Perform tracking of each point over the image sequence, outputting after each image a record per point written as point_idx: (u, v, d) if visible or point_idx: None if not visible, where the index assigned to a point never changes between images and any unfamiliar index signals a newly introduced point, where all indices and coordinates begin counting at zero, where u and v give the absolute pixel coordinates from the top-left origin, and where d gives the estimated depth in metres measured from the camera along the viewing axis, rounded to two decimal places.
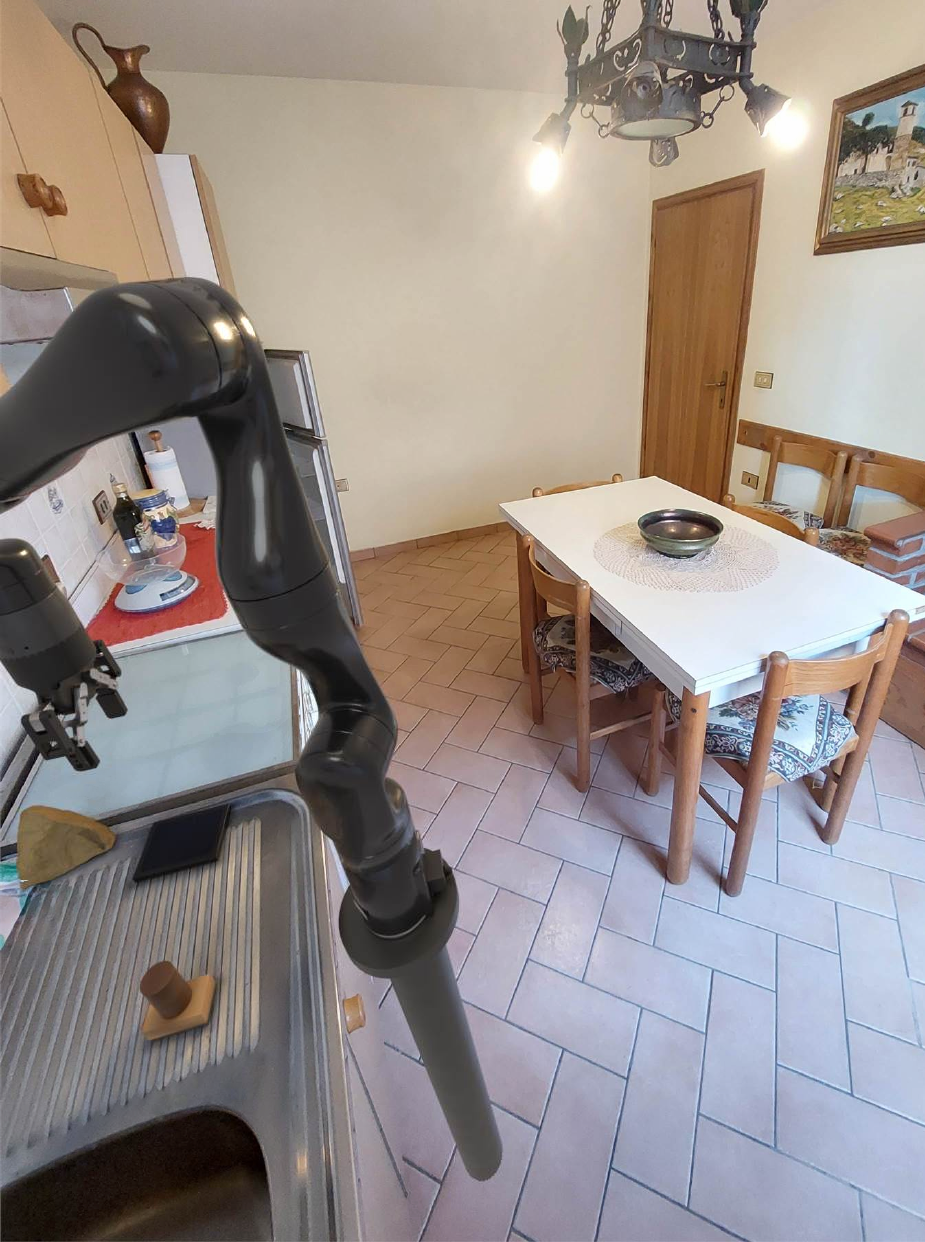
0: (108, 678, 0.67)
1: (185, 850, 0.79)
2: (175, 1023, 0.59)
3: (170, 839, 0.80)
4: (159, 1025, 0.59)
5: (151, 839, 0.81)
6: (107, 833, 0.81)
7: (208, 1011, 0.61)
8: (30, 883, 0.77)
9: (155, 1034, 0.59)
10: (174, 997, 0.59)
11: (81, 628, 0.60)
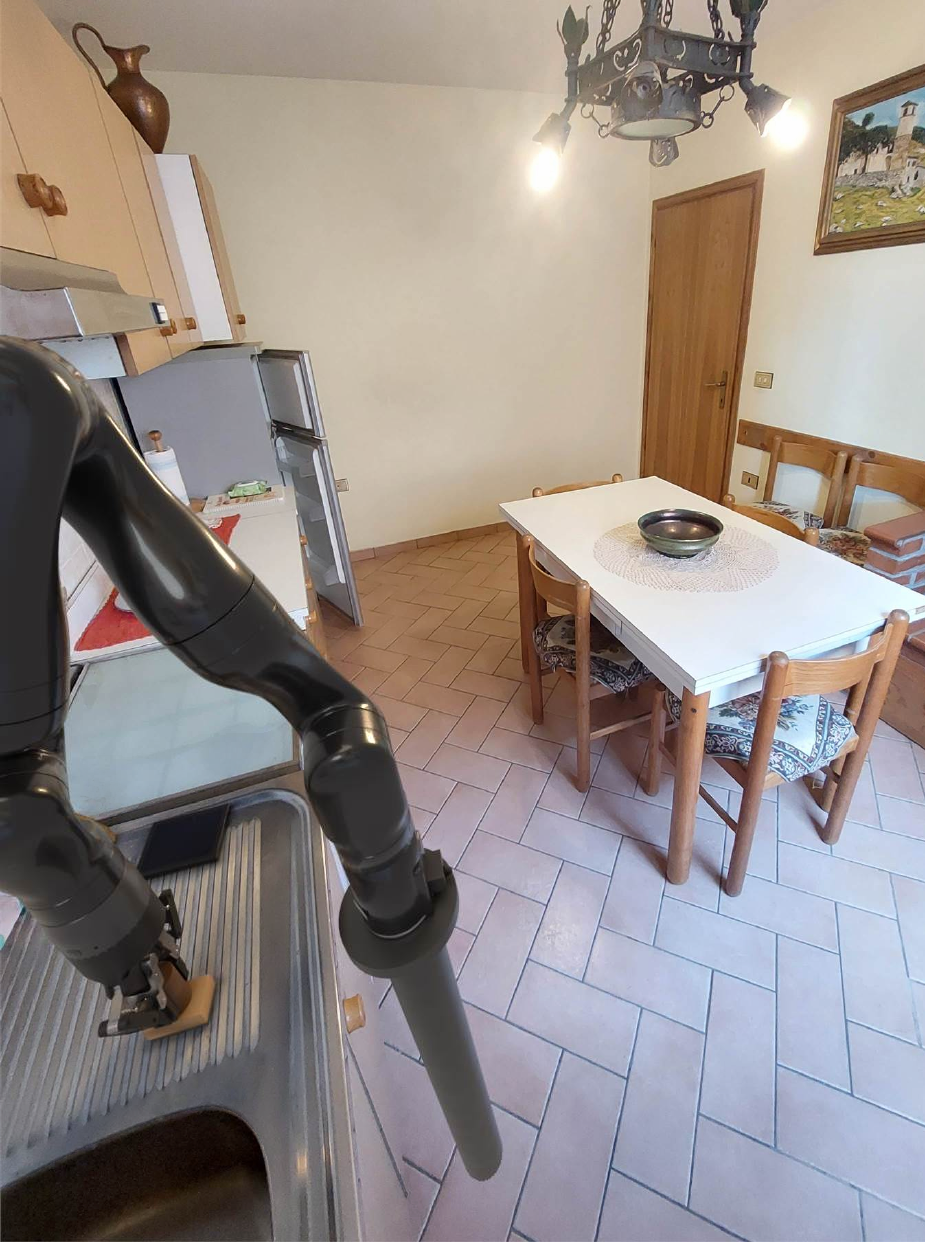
0: (173, 942, 0.59)
1: (185, 850, 0.79)
2: (175, 1023, 0.59)
3: (170, 839, 0.80)
4: None
5: (151, 839, 0.81)
6: None
7: (208, 1011, 0.61)
8: None
9: (155, 1034, 0.59)
10: (174, 997, 0.59)
11: (151, 899, 0.54)
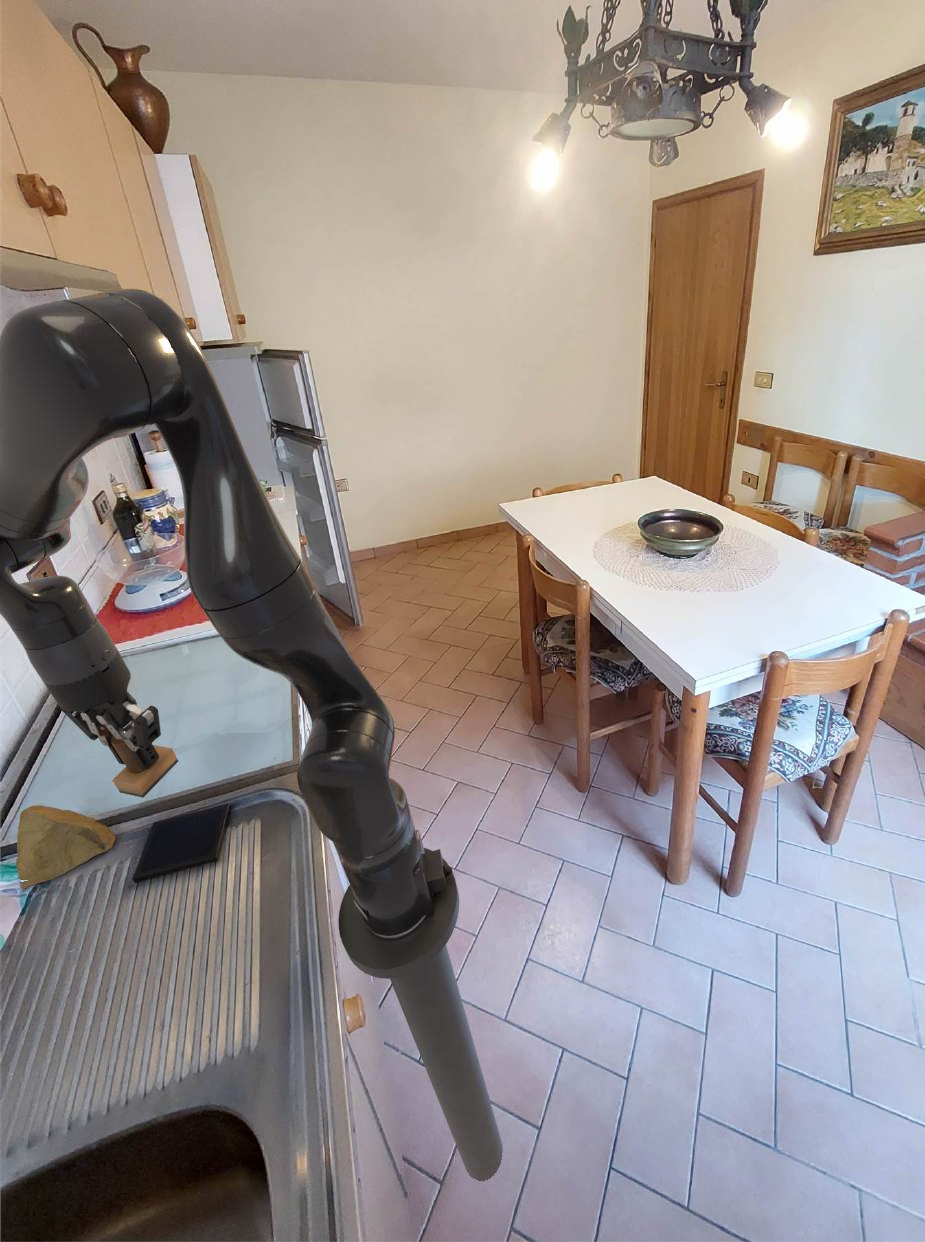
0: (119, 737, 0.68)
1: (185, 850, 0.79)
2: None
3: (170, 839, 0.80)
4: None
5: (151, 839, 0.81)
6: (107, 833, 0.81)
7: (123, 790, 0.72)
8: (30, 883, 0.77)
9: None
10: None
11: (57, 688, 0.62)
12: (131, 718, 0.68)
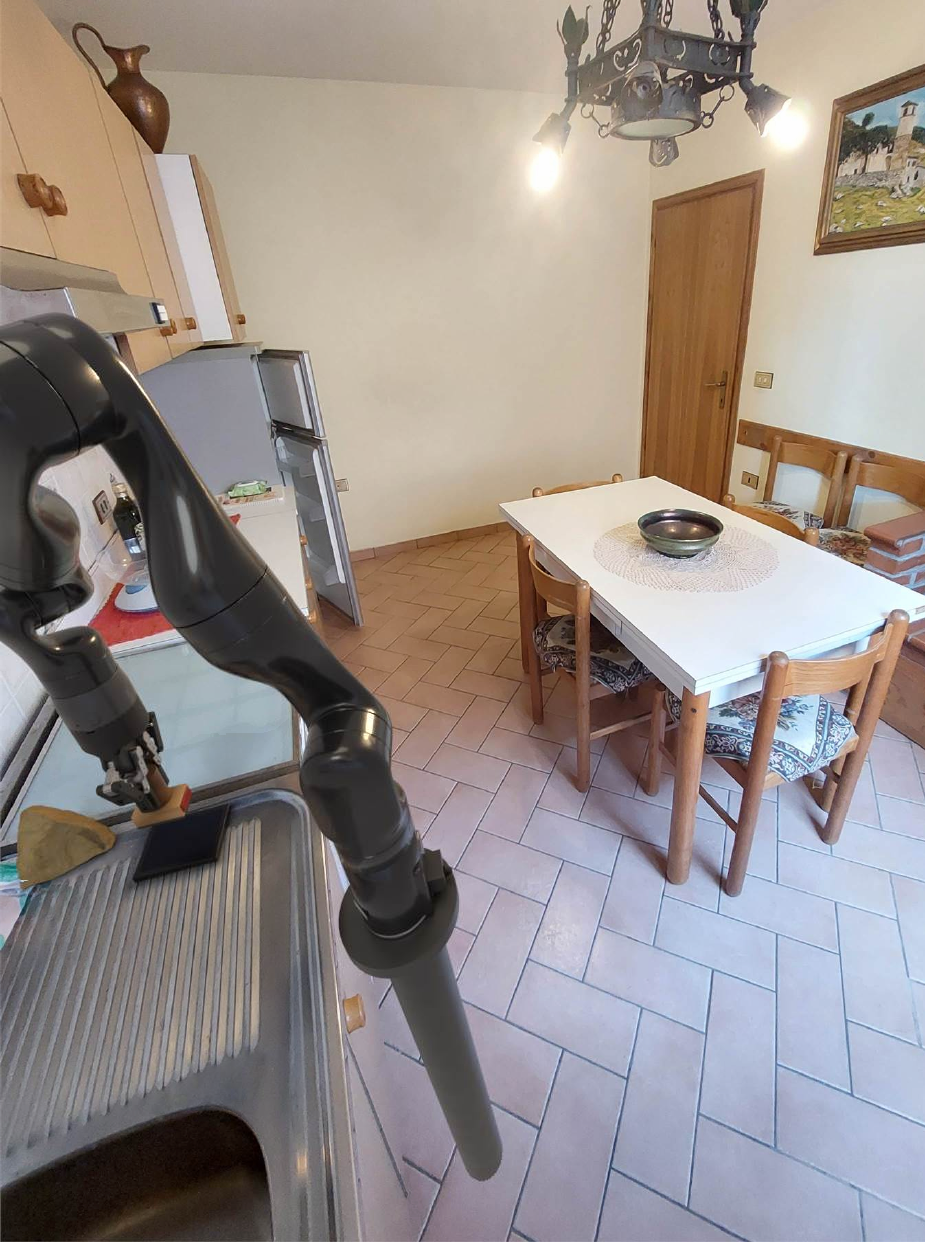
0: None
1: (185, 850, 0.79)
2: None
3: (170, 839, 0.80)
4: (172, 787, 0.78)
5: (151, 839, 0.81)
6: (107, 833, 0.81)
7: None
8: (30, 883, 0.77)
9: None
10: None
11: None
12: (126, 773, 0.69)
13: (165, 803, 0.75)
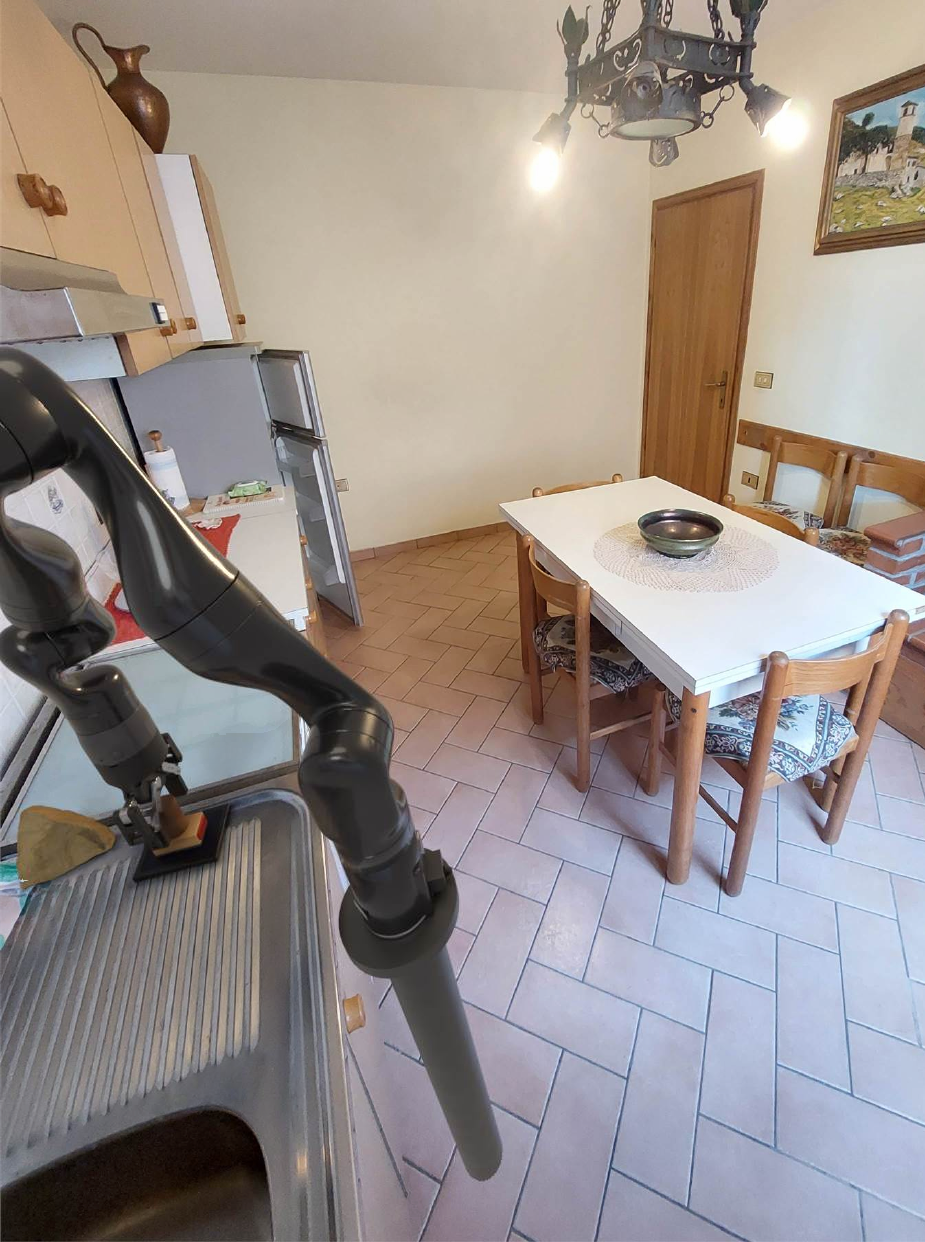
0: None
1: (185, 850, 0.79)
2: None
3: None
4: (189, 815, 0.81)
5: None
6: (107, 833, 0.81)
7: None
8: (30, 883, 0.77)
9: None
10: None
11: None
12: (146, 802, 0.72)
13: (182, 832, 0.78)
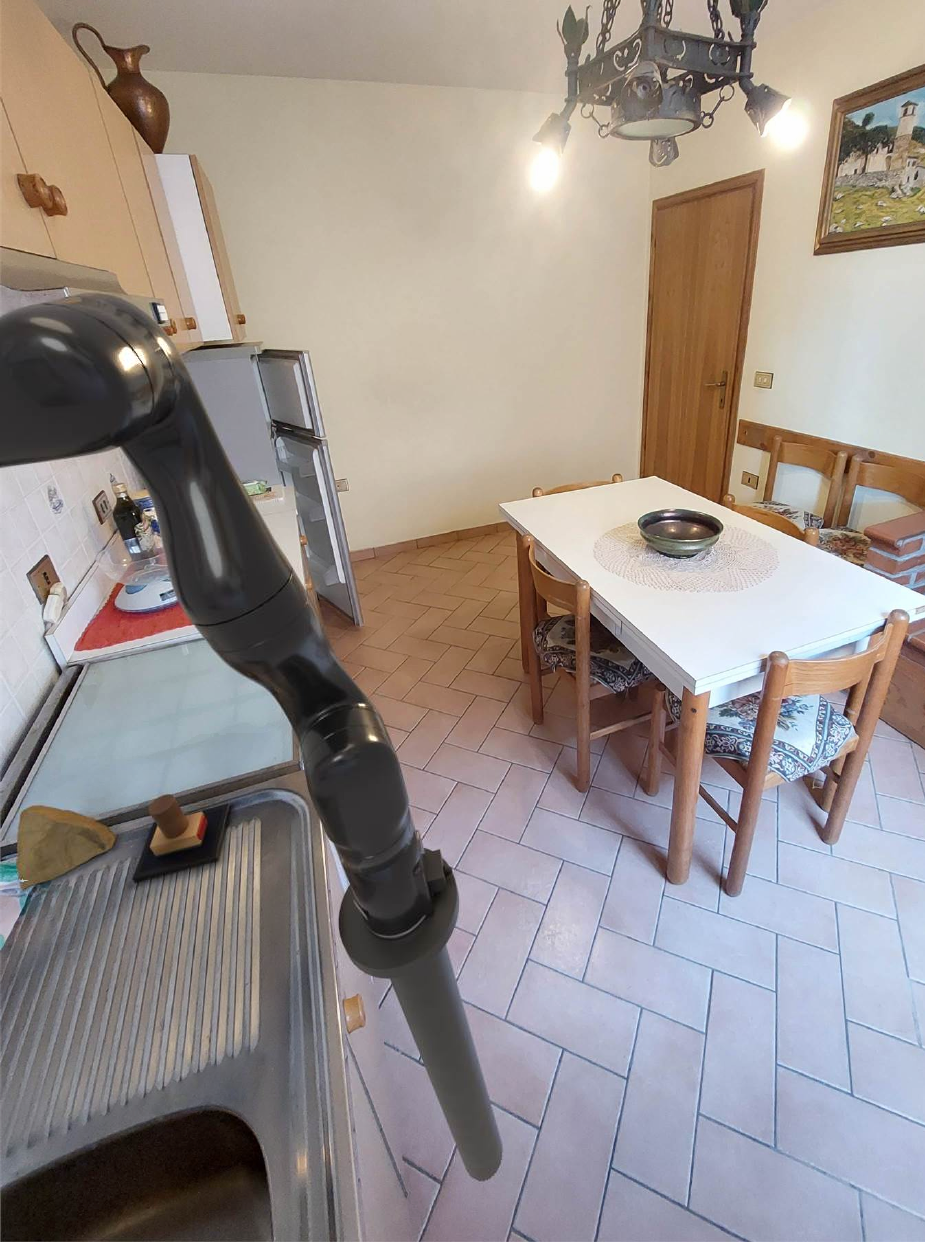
0: None
1: (185, 850, 0.79)
2: None
3: None
4: (189, 815, 0.81)
5: (151, 839, 0.81)
6: (107, 833, 0.81)
7: None
8: (30, 883, 0.77)
9: None
10: None
11: None
12: None
13: (182, 832, 0.78)
